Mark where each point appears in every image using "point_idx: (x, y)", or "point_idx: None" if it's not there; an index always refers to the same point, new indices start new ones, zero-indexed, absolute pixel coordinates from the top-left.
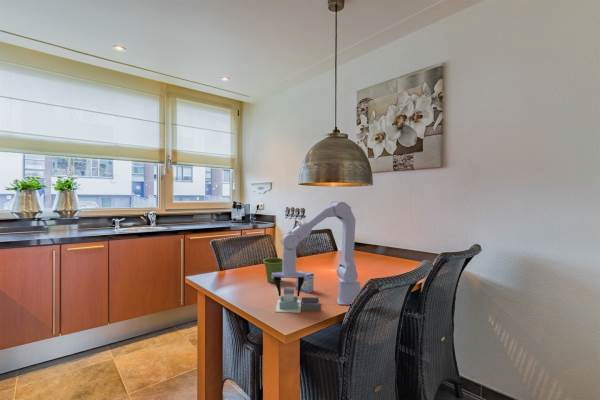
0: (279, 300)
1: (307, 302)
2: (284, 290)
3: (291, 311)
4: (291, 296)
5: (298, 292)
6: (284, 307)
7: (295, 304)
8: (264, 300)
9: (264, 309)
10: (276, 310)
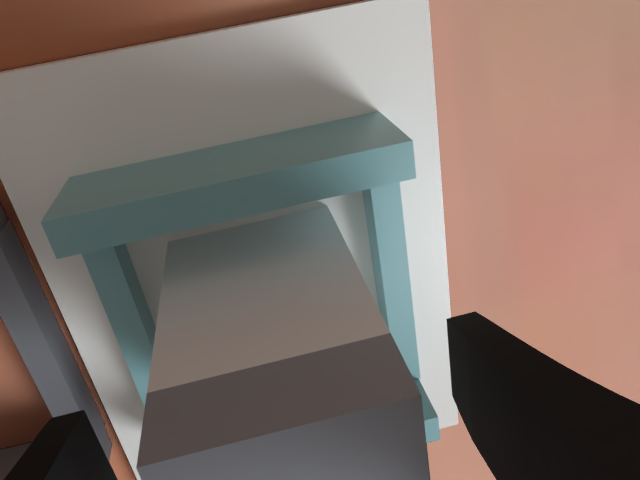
0: (433, 405)
1: (9, 458)
2: (399, 391)
3: (138, 46)
4: (200, 340)
5: (27, 474)
6: (298, 136)
7: (88, 202)
8: (618, 370)
9: (606, 74)
10: (416, 31)
